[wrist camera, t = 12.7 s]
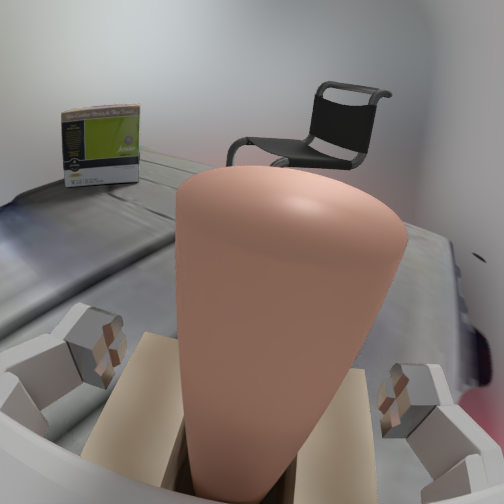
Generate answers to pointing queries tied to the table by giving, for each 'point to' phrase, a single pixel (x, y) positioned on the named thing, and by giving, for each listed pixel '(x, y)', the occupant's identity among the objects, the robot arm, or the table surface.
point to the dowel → (271, 313)
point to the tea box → (101, 144)
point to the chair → (324, 132)
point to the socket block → (175, 442)
